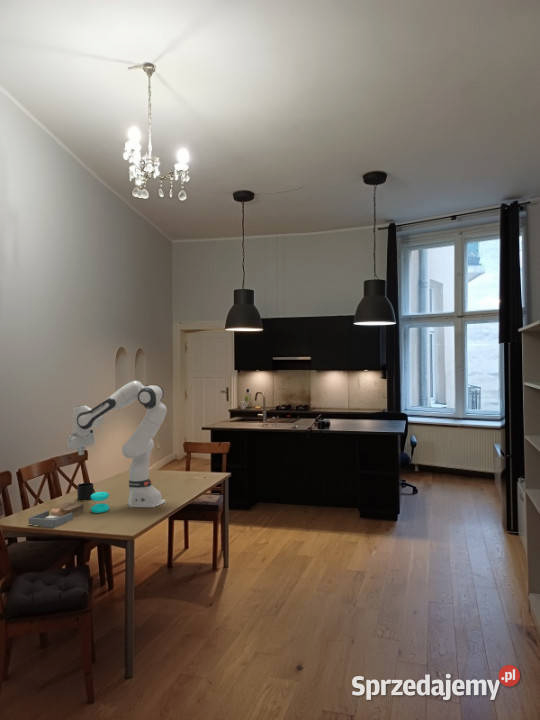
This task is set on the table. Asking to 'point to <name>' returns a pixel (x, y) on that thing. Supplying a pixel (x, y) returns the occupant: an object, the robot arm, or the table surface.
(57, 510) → the tile rear
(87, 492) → the mug
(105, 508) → the donuts
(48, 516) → the tile front
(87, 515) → the table surface
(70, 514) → the tray
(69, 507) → the bench
